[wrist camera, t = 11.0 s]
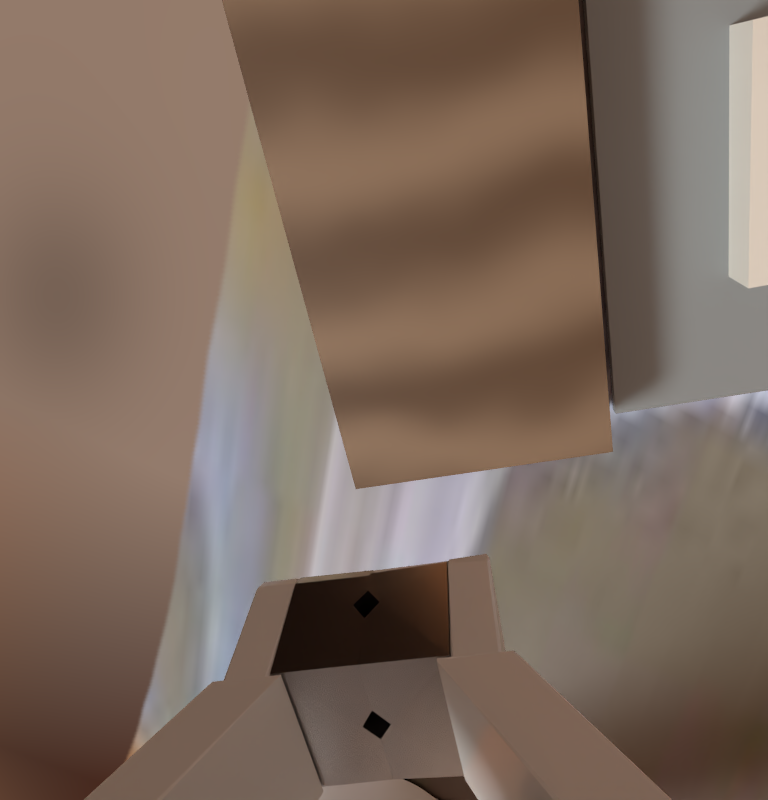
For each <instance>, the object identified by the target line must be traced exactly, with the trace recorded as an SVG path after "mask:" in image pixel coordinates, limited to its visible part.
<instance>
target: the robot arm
mask: <svg viewBox="0 0 768 800" xmlns="http://www.w3.org/2000/svg"><path fill="white" fill-rule="evenodd" d="M456 776H464V777H465V780H466V782H467V784H468V785H469V787H470V788H471V790H472V791H473V793H474V794H475V796H476V797H477V799H478V800H672V799H671V798H670V797H669V796H668V795H667V794H666V793H665V792H663V791H662V790H661V789H660V788H659V787H658V786H657V785H656V784H655V783H654V782H653V781H652V780H651V779H650V778H649V777H648V776H647V775H645V774H644V773H643V772H642V771H641V770H640V769H639V768H638V767H637V766H636V765H635V764H634V763H633V762H632V761H631V760H630V759H629V758H627V757H626V756H625V755H624V754H623V753H622V752H621V751H620V750H619V749H618V748H617V747H616V746H615V745H614V744H613V743H612V742H611V741H609V740H608V739H607V738H606V737H605V736H604V735H603V734H602V733H601V732H600V731H599V730H598V729H597V728H596V727H595V726H594V725H593V724H591V723H590V722H589V721H588V720H587V719H586V718H585V717H584V716H583V715H582V714H581V713H580V712H579V711H578V710H577V709H576V708H575V707H573V706H572V705H571V704H570V703H569V702H568V701H567V700H566V699H565V698H564V697H563V696H562V695H561V694H560V693H559V692H558V691H557V690H555V689H554V688H553V687H552V686H551V685H550V684H549V683H548V682H547V681H546V680H545V679H544V678H543V677H542V676H541V675H540V674H539V673H537V672H536V671H535V670H534V669H533V668H532V667H531V666H530V665H529V664H528V663H527V662H526V661H525V660H524V659H523V658H522V657H521V656H519V655H518V654H517V653H516V652H515V651H506V650H505V645H504V639H503V633H502V627H501V622H500V616H499V610H498V604H497V599H496V593H495V587H494V581H493V576H492V570H491V564H490V559H489V557H488V555H487V554H483V555H476V556H470V557H463V558H457V559H450V560H449V561H445V562H437V563H430V564H422V565H414V566H407V567H399V568H391V569H384V570H376V571H373V570H372V571H362V572H353V573H343V574H333V575H323V576H314V577H304V578H300V579H289V580H280V581H271V582H264V583H263V584H262V585H261V586H260V587H259V588H258V589H257V591H256V593H255V596H254V599H253V602H252V604H251V607H250V610H249V613H248V615H247V618H246V621H245V624H244V626H243V629H242V632H241V635H240V637H239V640H238V643H237V646H236V648H235V651H234V654H233V657H232V659H231V662H230V665H229V668H228V670H227V673H226V676H225V679H224V681H217V682H212V683H211V684H210V685H209V686H207V687H206V688H205V689H204V690H203V691H202V692H201V693H200V694H199V695H198V696H197V697H195V698H194V699H193V700H192V701H191V702H190V703H189V704H188V705H187V706H186V707H185V708H183V709H182V710H181V711H180V712H179V713H178V714H177V715H176V716H175V717H174V718H173V719H171V720H170V721H169V722H168V723H167V724H166V725H165V726H164V727H163V728H162V729H161V730H159V731H158V732H157V733H156V734H155V735H154V736H153V737H152V738H151V739H150V740H149V741H147V742H146V743H145V744H144V745H143V746H142V747H141V748H140V749H139V750H138V751H137V752H135V753H134V754H133V755H132V756H131V757H130V758H129V759H128V760H127V761H126V762H125V763H123V764H122V765H121V766H120V767H119V768H118V769H117V770H116V771H115V772H114V773H113V774H112V775H111V776H109V777H108V778H107V779H106V780H105V781H104V782H103V783H102V784H101V785H100V786H98V787H97V788H96V789H95V790H94V791H93V792H92V793H91V794H90V795H89V796H88V797H86V798H85V799H84V800H437V799H436V798H434V797H433V796H431V795H430V794H429V793H427V792H426V791H424V790H423V789H421V788H420V787H418V786H416V785H414V784H412V783H410V782H408V781H406V780H404V779H413V778H434V777H456Z"/></svg>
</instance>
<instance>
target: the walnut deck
mask: <svg viewBox="0 0 768 800" xmlns="http://www.w3.org/2000/svg"><path fill="white" fill-rule="evenodd" d="M222 2H223V6H224V9H225V13H226V16H227V20H228V24H229V28H230V31H231V34H232V38H233V42H234V46H235V50H236V53H237V57H238V61H239V64H240V68H241V71H242V75H243V78H244V82H245V86H246V90H247V93H248V97H249V101H250V104H251V108H252V112H253V115H254V119H255V123H256V126H257V130H258V134H259V137H260V141H261V145H262V148H263V152H264V155H265V159H266V163H267V166H268V170H269V174H270V177H271V181H272V185H273V188H274V192H275V196H276V199H277V203H278V207H279V210H280V214H281V217H282V221H283V225H284V228H285V232H286V236H287V239H288V243H289V247H290V250H291V254H292V258H293V261H294V265H295V269H296V272H297V276H298V280H299V283H300V287H301V290H302V294H303V298H304V301H305V305H306V309H307V312H308V316H309V320H310V323H311V327H312V331H313V334H314V338H315V342H316V345H317V349H318V352H319V356H320V360H321V363H322V367H323V371H324V374H325V378H326V382H327V385H328V389H329V393H330V396H331V400H332V404H333V407H334V411H335V415H336V418H337V422H338V425H339V429H340V433H341V436H342V440H343V444H344V447H345V451H346V455H347V458H348V462H349V466H350V469H351V473H352V477H353V480H354V484H355V487H356V489H359V488H366V487H373V486H380V485H387V484H394V483H401V482H408V481H414V480H421V479H428V478H435V477H442V476H449V475H456V474H463V473H470V472H476V471H483V470H490V469H497V468H504V467H511V466H518V465H525V464H531V463H538V462H545V461H552V460H559V459H566V458H573V457H580V456H587V455H593V454H600V453H607V452H613V448H612V435H611V422H610V408H609V395H608V382H607V369H606V356H605V343H604V330H603V316H602V303H601V290H600V277H599V264H598V251H597V238H596V224H595V211H594V198H593V185H592V172H591V159H590V146H589V132H588V119H587V106H586V93H585V80H584V67H583V54H582V40H581V27H580V14H579V1H578V0H222Z"/></svg>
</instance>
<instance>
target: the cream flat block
mask: <svg viewBox="0 0 768 800" xmlns="http://www.w3.org/2000/svg"><path fill="white" fill-rule="evenodd" d="M729 277H730V278H732V279H734V280H735V281H737V282H738V283H740V284H742V285H743V286H745V287H747V288H754V287H759V286H765V285H768V16H766V17H762V18H758V19H754V20H750V21H746V22H742V23H737V24H733V25H729Z"/></svg>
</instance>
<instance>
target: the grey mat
mask: <svg viewBox="0 0 768 800" xmlns="http://www.w3.org/2000/svg"><path fill="white" fill-rule="evenodd" d="M583 7H584V21H585V34H586V48H587V61H588V75H589V89H590V102H591V116H592V129H593V143H594V157H595V170H596V184H597V197H598V211H599V225H600V238H601V252H602V265H603V279H604V293H605V306H606V320H607V333H608V347H609V361H610V374H611V388H612V401H613V410H614V412H615V413H623V412H629V411H636V410H642V409H649V408H655V407H662V406H668V405H675V404H681V403H688V402H694V401H701V400H707V399H714V398H720V397H727V396H733V395H740V394H746V393H753V392H759V391H766V390H768V285H765V286H759V287H754V288H747V287H745V286H743V285H742V284H740V283H738V282H737V281H735V280H734V279H732V278H730V277H729V25H733V24H737V23H742V22H746V21H750V20H754V19H758V18H762V17H766V16H768V0H583Z"/></svg>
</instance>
